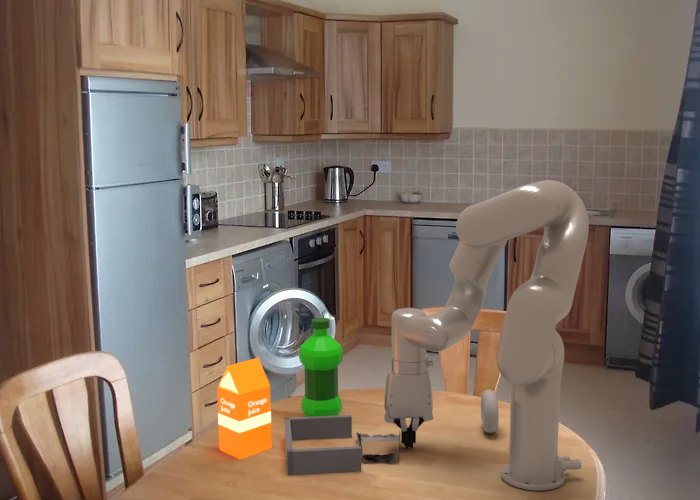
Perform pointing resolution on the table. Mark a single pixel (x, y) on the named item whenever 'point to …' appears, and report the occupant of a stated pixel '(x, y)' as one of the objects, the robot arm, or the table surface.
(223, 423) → the orange juice
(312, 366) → the plastic bottle
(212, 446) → the table surface
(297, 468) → the tray
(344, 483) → the table surface
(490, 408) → the donut
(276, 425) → the table surface
